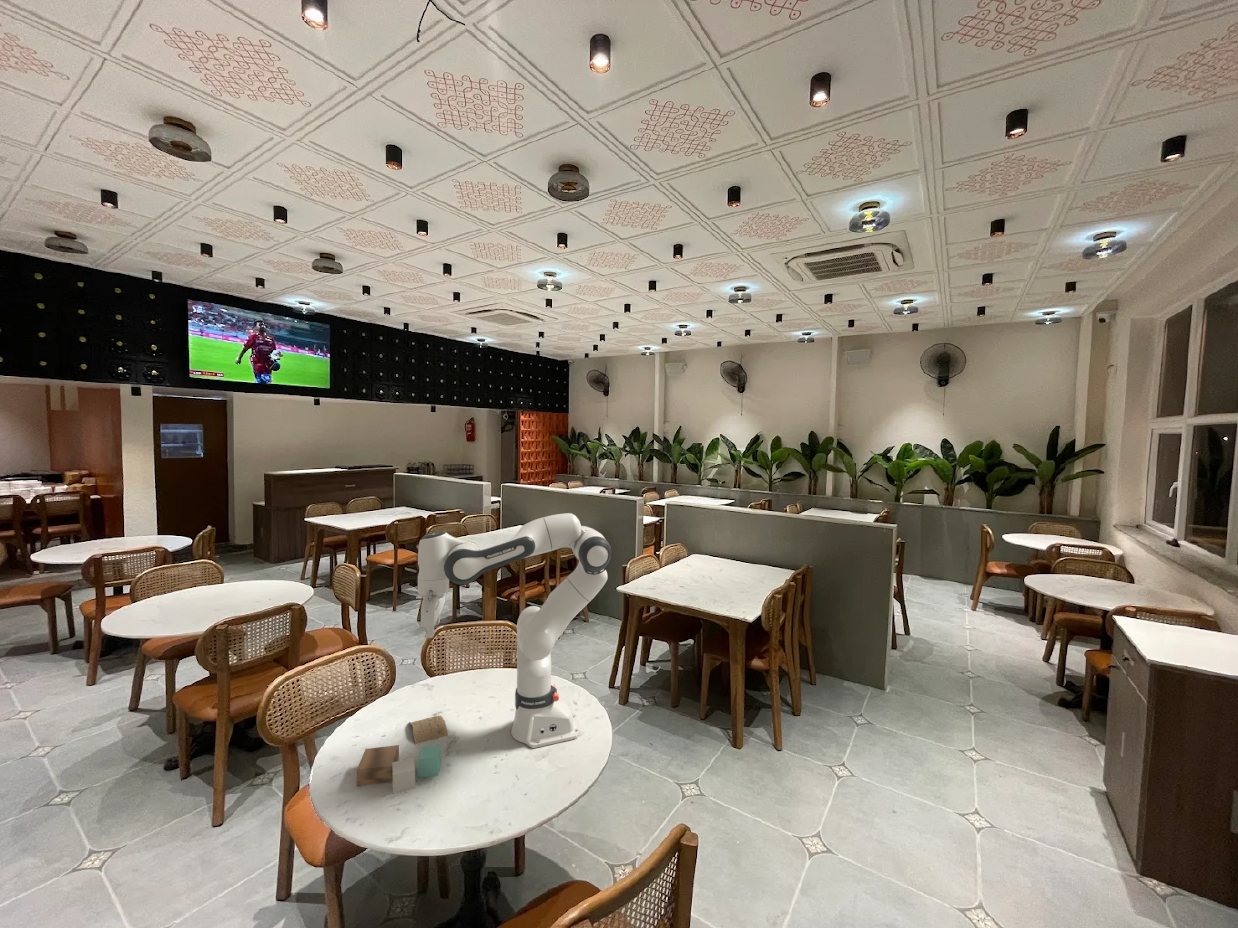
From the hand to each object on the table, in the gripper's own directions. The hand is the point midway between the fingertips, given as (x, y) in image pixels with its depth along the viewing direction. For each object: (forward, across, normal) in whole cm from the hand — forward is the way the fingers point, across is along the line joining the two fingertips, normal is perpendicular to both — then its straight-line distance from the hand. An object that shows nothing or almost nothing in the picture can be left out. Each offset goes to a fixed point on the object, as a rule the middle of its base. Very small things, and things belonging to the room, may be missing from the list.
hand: (433, 630), depth 147 cm
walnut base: (+38, -8, +13) cm, 41 cm away
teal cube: (+38, -9, -1) cm, 39 cm away
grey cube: (+38, -14, +5) cm, 41 cm away
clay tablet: (+38, +11, +4) cm, 40 cm away
